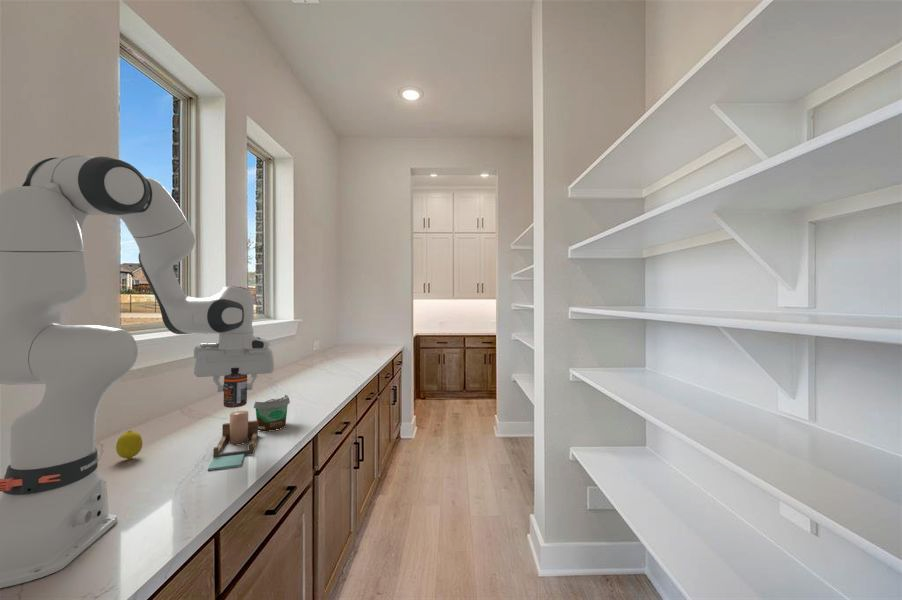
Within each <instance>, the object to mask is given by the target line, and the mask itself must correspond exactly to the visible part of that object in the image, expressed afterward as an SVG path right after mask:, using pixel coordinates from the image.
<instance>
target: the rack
mask: <svg viewBox="0 0 902 600" xmlns="http://www.w3.org/2000/svg"><path fill="white" fill-rule="evenodd" d="M221 427H222V429H221V430H222V436H221V437H220V439H219V441H218V443H217V445H216V446H215V447H213V451H212V452H213V453H212V459H213V458H214V457H222V456H230V455H238V454H244V456H252V454H253V455H254V452H255V449H254V448H256V445H255V444H257V441H258V436H259V431H258V420H257V419H256V420H248V439H251V440H250V442H249V443H248V449H244V450H236V451H235V450H234V451H227V452H223V450H222V449H224V447H225V445H226V443H227V441H230V422H227V423H222V426H221ZM249 437H252V438H249ZM256 440H257V441H256ZM221 451H222V452H221Z"/></svg>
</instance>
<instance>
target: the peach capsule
mask: <svg viewBox="0 0 902 600" xmlns="http://www.w3.org/2000/svg"><path fill="white" fill-rule="evenodd" d="M248 421H249V411H248V410H237V411H233V412H230V414H229V423H230V440H229V445H230V444H233V445H232V446H238V445H237V444H241V445H243V444H242V443H245V444H246V442H247V441H248V442H249V438H248ZM248 442H247V443H248Z"/></svg>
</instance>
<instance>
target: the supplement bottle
mask: <svg viewBox="0 0 902 600" xmlns="http://www.w3.org/2000/svg"><path fill="white" fill-rule="evenodd" d="M231 372H232V373H231V374H230V375H227V376H223V384H224V391H223V406H224V407H225V408H228V409H234V408H240V407H243V406H246V405H247V403H248V402H247V401H248V390H247V383H248V374H247V375H242V374H239V373H238V372H239V368H231Z"/></svg>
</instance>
